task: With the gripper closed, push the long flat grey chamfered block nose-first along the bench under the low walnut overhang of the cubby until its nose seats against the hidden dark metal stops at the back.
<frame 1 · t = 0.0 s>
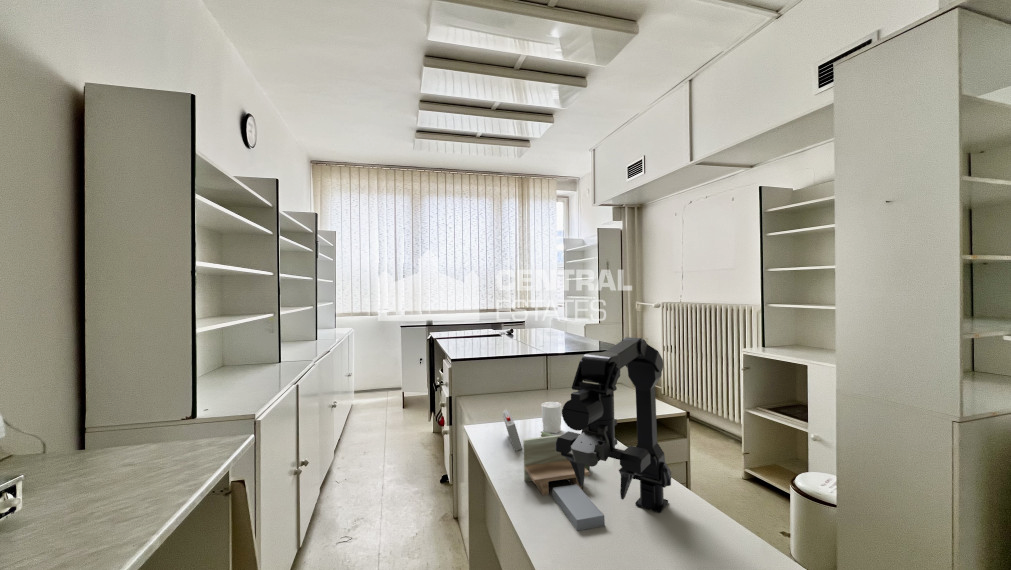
hand: (601, 491, 87), 15 cm above the table, tool pointing down, fingers open, 9 cm apart
white cup: (552, 430, 165), on the table
grey chamfered block: (577, 510, 107), on the table
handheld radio: (558, 458, 139), on the table
cassette player: (515, 441, 153), on the table
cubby: (557, 485, 120), on the table
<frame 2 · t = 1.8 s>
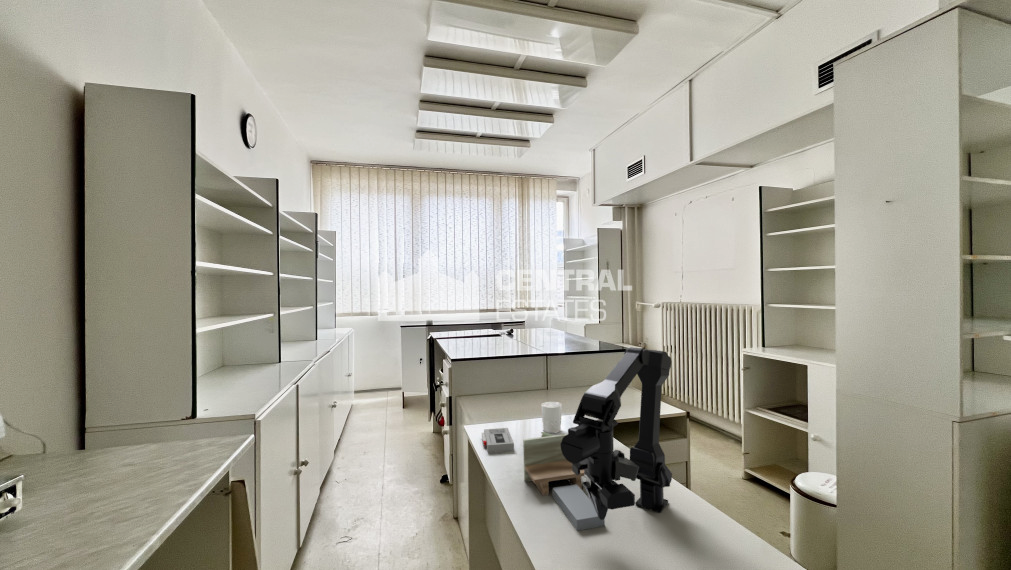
hand: (601, 518, 94), 5 cm above the table, tool pointing down, fingers closed
cassette player: (511, 438, 153), point 1 cm above the table
everything else where it was.
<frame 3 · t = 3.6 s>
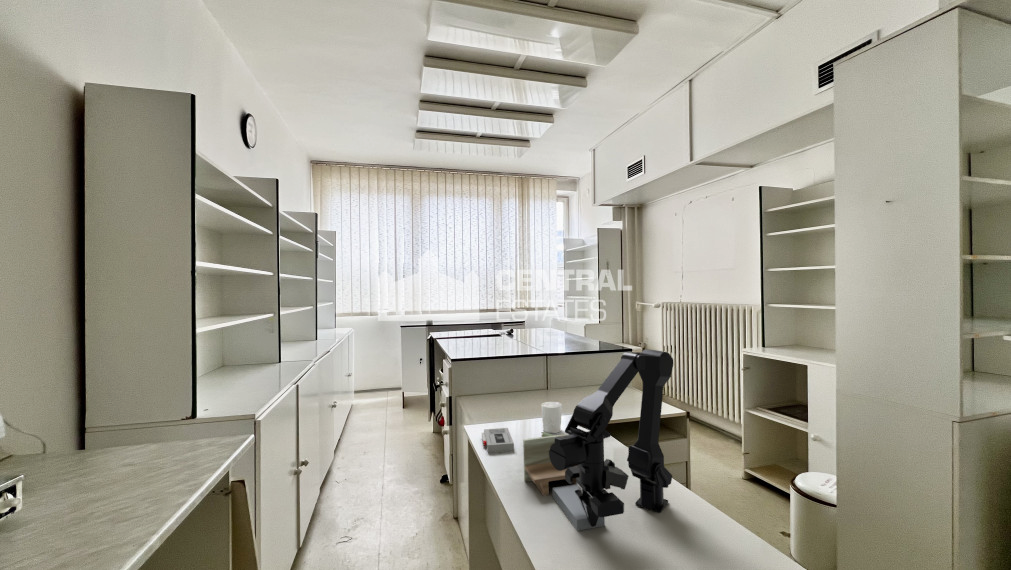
hand: (593, 525, 98), 1 cm above the table, tool pointing down, fingers closed
grey chamfered block: (577, 510, 107), on the table, touching gripper
everything else where it was.
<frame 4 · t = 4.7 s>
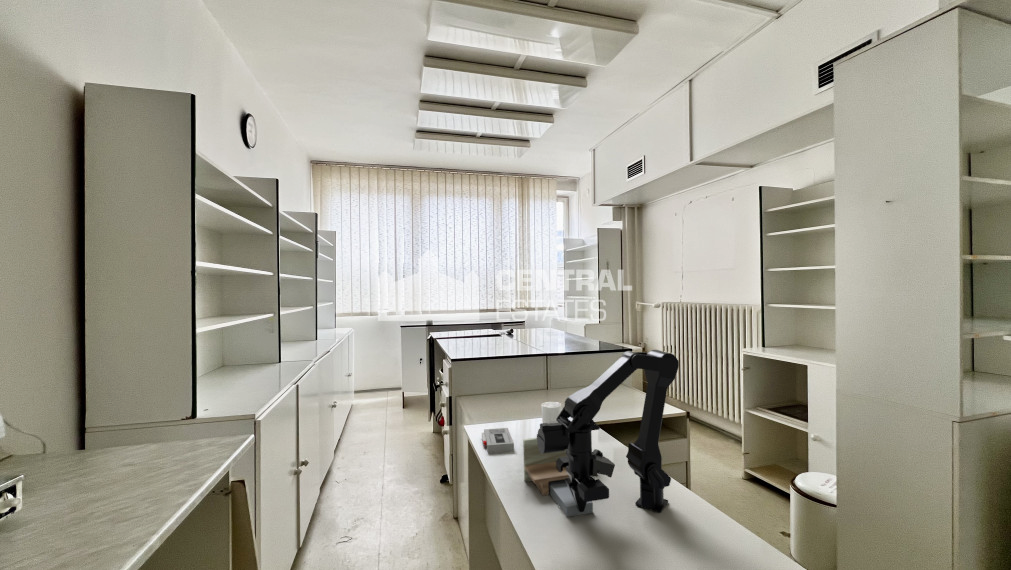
hand: (581, 511, 104), 1 cm above the table, tool pointing down, fingers closed
grey chamfered block: (567, 498, 113), on the table, touching gripper
everything else where it was.
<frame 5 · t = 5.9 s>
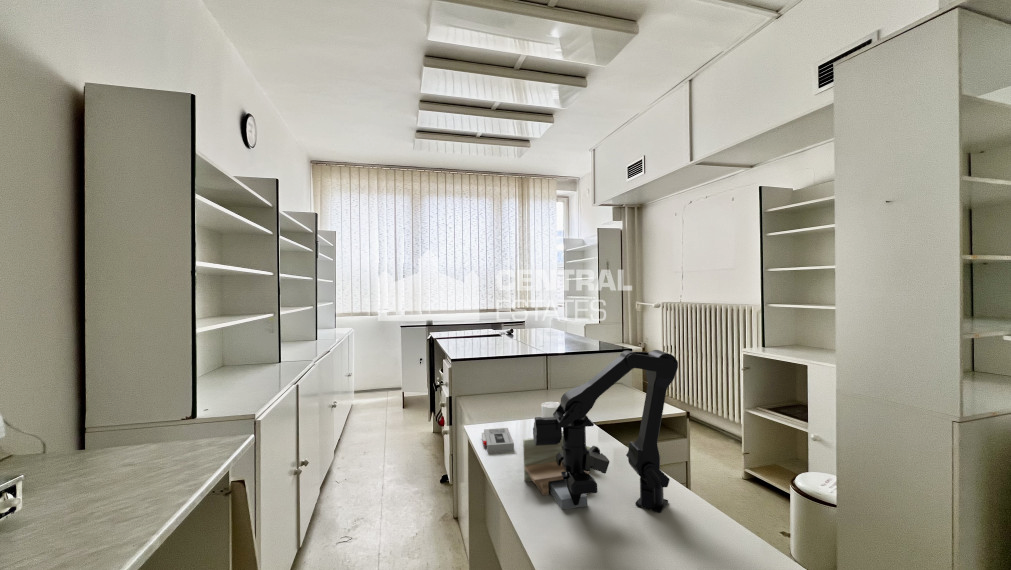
hand: (575, 504, 108), 1 cm above the table, tool pointing down, fingers closed
grey chamfered block: (563, 492, 116), on the table, touching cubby, gripper
everything else where it was.
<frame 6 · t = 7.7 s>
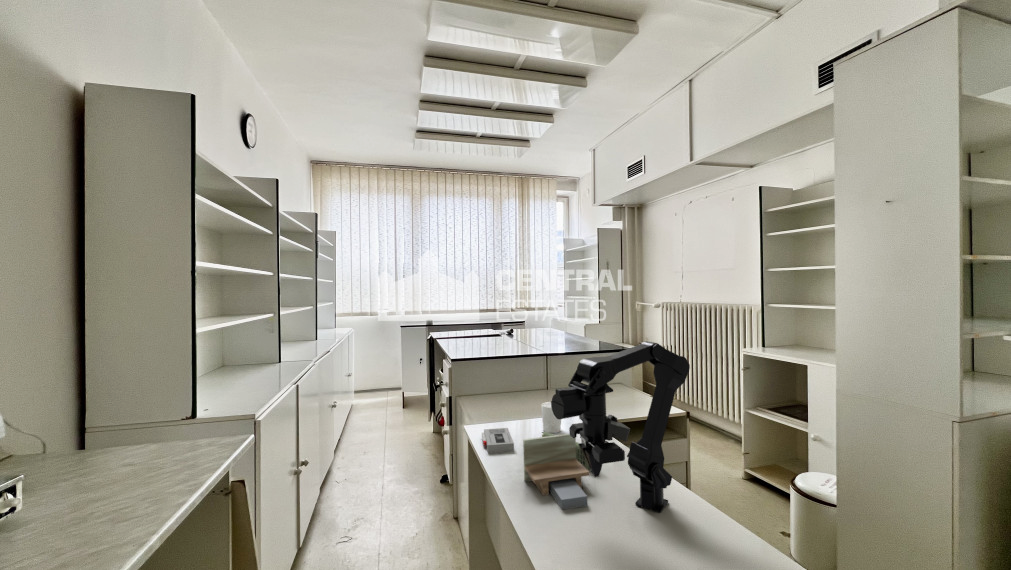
hand: (596, 476, 102), 11 cm above the table, tool pointing down, fingers closed
grey chamfered block: (563, 492, 116), on the table, touching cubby
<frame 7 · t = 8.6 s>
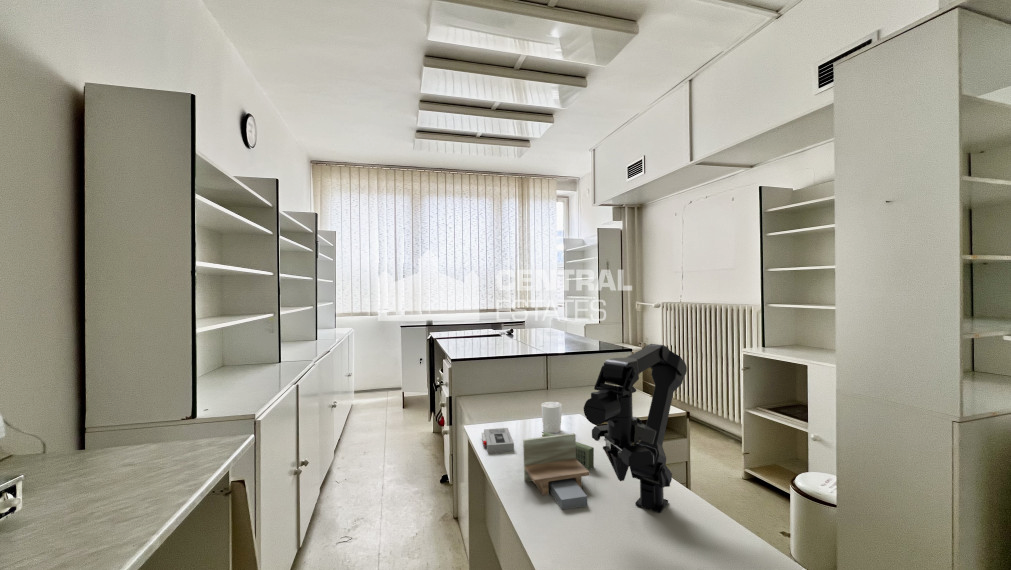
hand: (621, 480, 100), 11 cm above the table, tool pointing down, fingers closed
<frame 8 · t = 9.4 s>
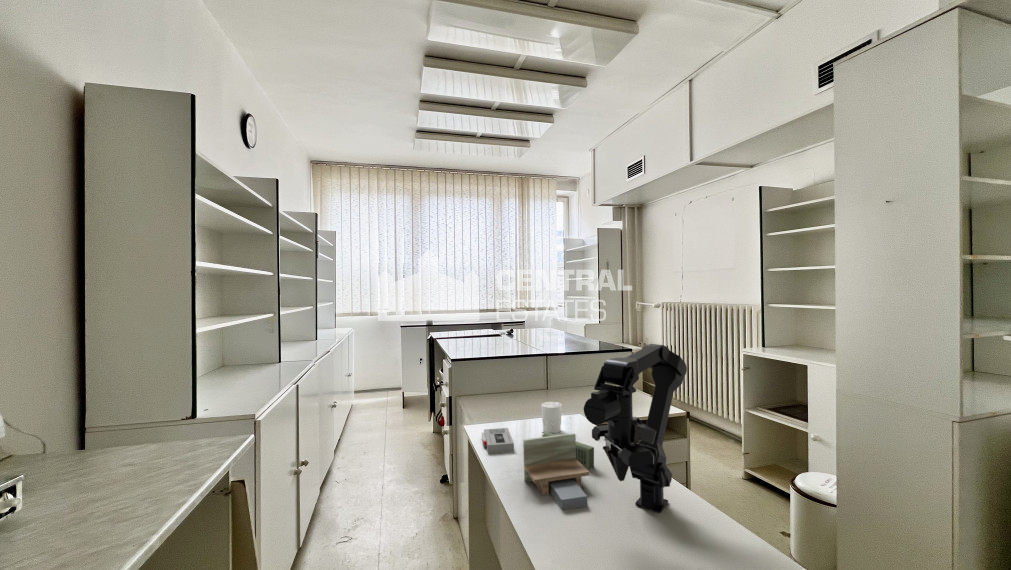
hand: (621, 480, 100), 11 cm above the table, tool pointing down, fingers closed
at the end: grey chamfered block 0.3 cm from the target spot on the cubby, point 0.0 cm above the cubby's base; grey chamfered block tilted 0° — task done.
